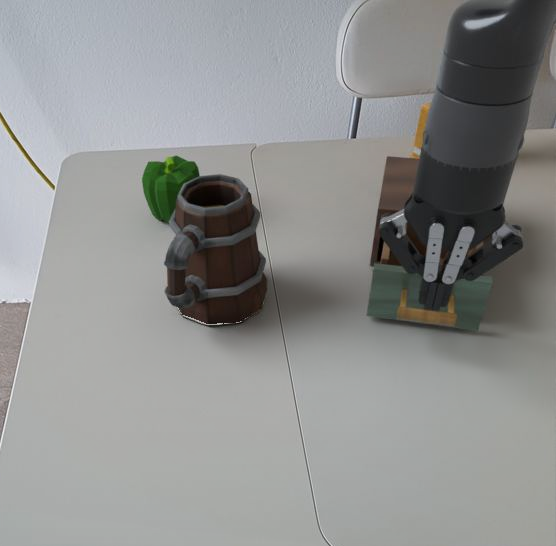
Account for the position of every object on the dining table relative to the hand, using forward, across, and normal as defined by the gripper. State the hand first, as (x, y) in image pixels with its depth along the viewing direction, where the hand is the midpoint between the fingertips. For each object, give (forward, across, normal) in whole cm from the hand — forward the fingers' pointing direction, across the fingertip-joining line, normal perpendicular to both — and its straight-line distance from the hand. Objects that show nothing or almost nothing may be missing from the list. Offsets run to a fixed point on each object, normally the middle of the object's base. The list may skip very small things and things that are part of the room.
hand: (431, 305), depth 65 cm
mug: (+9, +25, -6) cm, 27 cm away
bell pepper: (+9, +36, -24) cm, 44 cm away
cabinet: (+9, 0, -24) cm, 26 cm away
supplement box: (+9, +1, -46) cm, 46 cm away
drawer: (+8, 0, -10) cm, 13 cm away
